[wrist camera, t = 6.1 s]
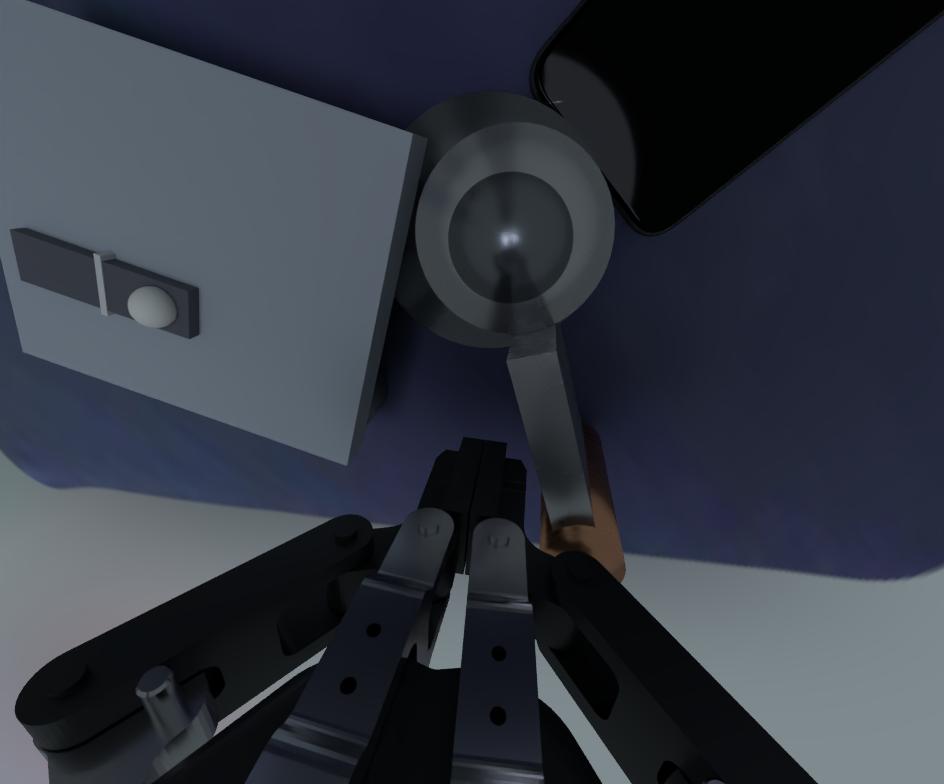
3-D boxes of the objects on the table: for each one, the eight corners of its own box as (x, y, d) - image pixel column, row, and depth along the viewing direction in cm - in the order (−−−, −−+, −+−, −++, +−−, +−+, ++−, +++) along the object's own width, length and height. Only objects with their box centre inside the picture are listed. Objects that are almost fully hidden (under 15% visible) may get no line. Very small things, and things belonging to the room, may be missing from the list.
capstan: (358, 148, 16) (201, 122, 9) (581, 62, 13) (614, -65, 6) (468, 464, 21) (428, 606, 14) (638, 439, 19) (690, 591, 12)
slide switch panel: (81, 18, 15) (-142, -58, 10) (446, 144, 15) (396, 127, 10) (115, 321, 21) (-18, 365, 16) (382, 415, 21) (331, 488, 16)
